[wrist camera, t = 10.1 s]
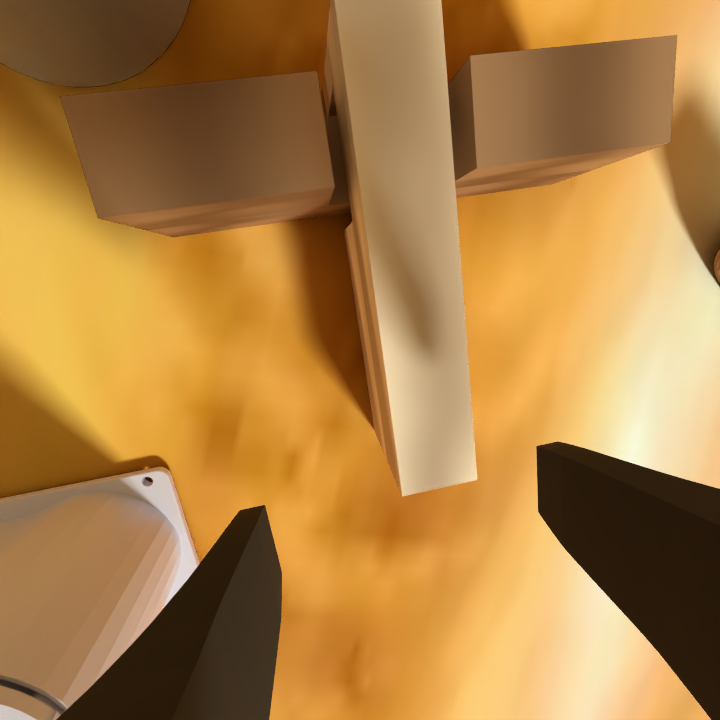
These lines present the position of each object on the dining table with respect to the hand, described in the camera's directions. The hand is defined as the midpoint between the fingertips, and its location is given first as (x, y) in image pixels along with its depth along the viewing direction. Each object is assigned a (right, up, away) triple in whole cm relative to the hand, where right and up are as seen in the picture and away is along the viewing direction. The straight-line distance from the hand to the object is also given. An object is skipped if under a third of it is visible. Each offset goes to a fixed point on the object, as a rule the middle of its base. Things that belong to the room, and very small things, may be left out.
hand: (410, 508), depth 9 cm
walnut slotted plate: (-1, +12, +7) cm, 14 cm away
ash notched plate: (0, +8, +8) cm, 12 cm away
